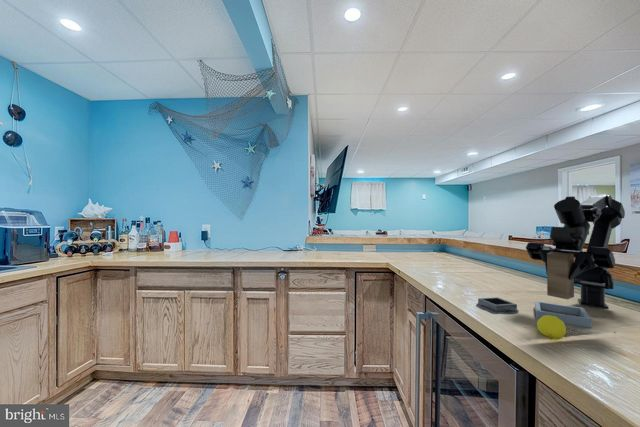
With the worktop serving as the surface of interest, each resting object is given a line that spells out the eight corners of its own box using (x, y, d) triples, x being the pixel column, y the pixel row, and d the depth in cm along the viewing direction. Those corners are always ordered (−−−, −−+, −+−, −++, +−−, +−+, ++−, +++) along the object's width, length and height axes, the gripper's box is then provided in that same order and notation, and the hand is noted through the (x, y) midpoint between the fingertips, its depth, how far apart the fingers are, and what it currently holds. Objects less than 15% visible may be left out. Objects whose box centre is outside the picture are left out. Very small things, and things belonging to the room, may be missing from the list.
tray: (535, 310, 85) (535, 300, 85) (583, 318, 79) (583, 307, 79) (536, 321, 76) (536, 310, 76) (591, 331, 70) (591, 319, 70)
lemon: (565, 348, 62) (564, 325, 62) (535, 340, 66) (534, 319, 66) (567, 334, 67) (567, 313, 67) (539, 328, 71) (539, 308, 71)
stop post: (554, 292, 81) (553, 251, 81) (574, 296, 77) (573, 253, 77) (547, 295, 78) (547, 253, 78) (567, 299, 75) (567, 255, 75)
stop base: (498, 304, 91) (498, 295, 91) (528, 316, 80) (528, 306, 80) (468, 306, 89) (468, 297, 89) (495, 318, 79) (495, 308, 79)
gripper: (528, 216, 88) (510, 254, 82) (611, 217, 72) (597, 263, 66) (539, 240, 92) (523, 277, 86) (620, 245, 76) (608, 291, 70)
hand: (558, 277), depth 77 cm, fingers closed on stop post, 4 cm apart
